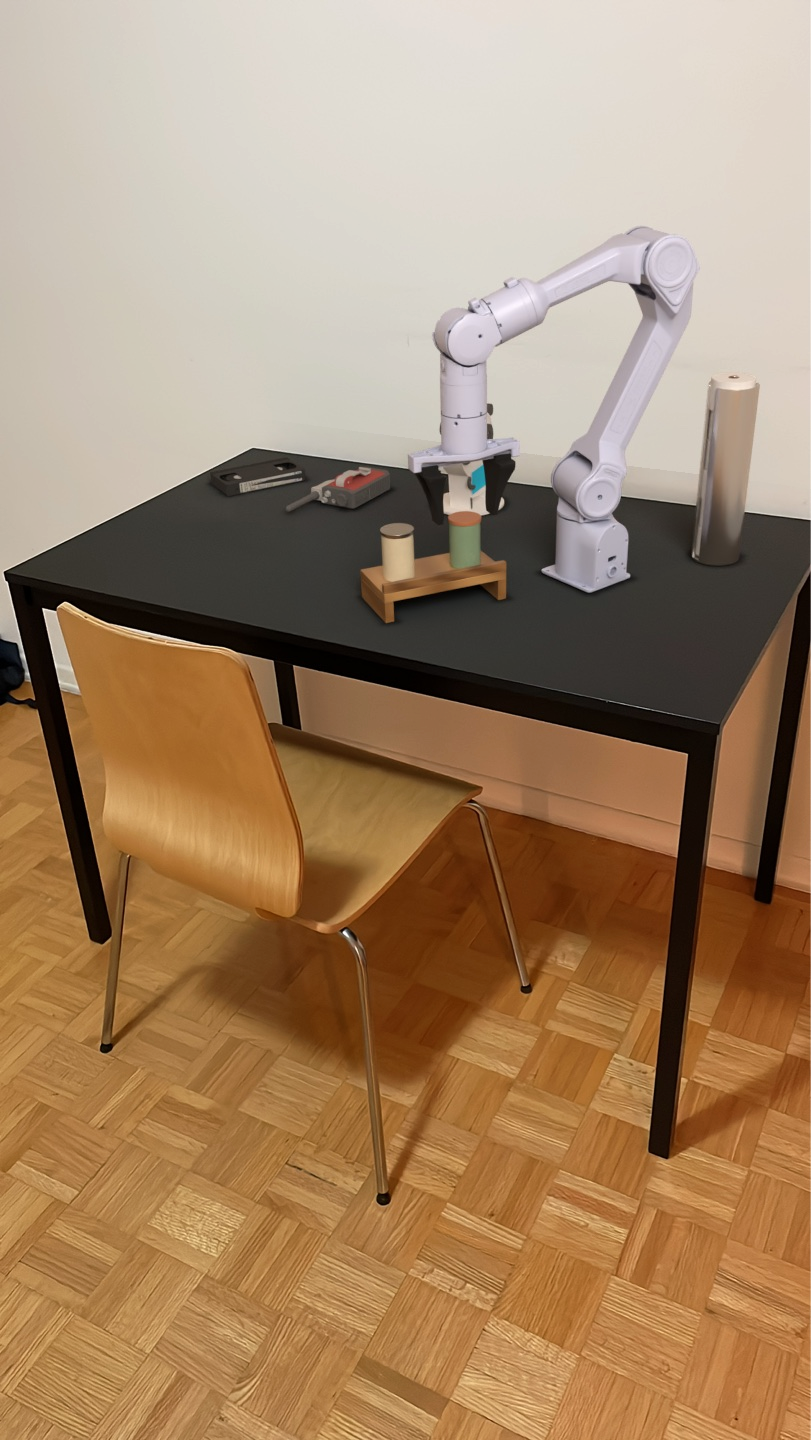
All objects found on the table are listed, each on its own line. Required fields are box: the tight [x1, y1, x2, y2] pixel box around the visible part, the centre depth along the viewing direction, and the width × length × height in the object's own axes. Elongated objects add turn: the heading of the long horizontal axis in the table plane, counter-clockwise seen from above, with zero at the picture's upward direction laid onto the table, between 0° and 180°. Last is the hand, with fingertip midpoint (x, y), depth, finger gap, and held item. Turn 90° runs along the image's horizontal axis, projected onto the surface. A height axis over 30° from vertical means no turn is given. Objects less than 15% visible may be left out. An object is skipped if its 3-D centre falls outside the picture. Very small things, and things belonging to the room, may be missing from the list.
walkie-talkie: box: [285, 466, 391, 513], centre depth 183 cm, size 9×4×20 cm
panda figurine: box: [439, 402, 505, 516], centre depth 177 cm, size 12×11×15 cm
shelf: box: [359, 550, 507, 624], centre depth 149 cm, size 17×9×5 cm, turn 112°
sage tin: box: [447, 511, 482, 569], centre depth 148 cm, size 4×4×6 cm
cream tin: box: [379, 522, 415, 582], centre depth 145 cm, size 4×4×6 cm
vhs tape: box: [209, 457, 306, 497], centre depth 194 cm, size 14×8×2 cm, turn 119°
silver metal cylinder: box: [690, 371, 761, 567], centre depth 152 cm, size 6×6×25 cm
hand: (465, 517), depth 147 cm, fingers open, 7 cm apart
